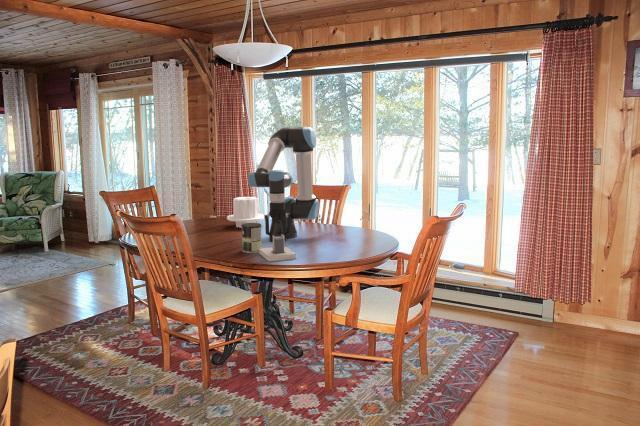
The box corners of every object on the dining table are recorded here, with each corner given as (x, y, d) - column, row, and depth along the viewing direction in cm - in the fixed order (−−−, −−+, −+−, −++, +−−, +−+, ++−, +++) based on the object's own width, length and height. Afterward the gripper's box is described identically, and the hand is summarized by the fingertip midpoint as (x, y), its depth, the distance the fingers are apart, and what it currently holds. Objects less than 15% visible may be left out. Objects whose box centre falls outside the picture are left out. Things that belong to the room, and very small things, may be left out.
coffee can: (241, 253, 269) (240, 226, 267) (242, 248, 279) (242, 222, 277) (261, 252, 270) (261, 226, 267) (262, 248, 280) (261, 222, 278)
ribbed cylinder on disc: (219, 228, 339) (218, 199, 336) (244, 222, 360) (243, 194, 357) (249, 231, 326) (248, 201, 323) (273, 225, 347) (272, 197, 344)
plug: (272, 252, 262) (272, 236, 260) (281, 251, 263) (281, 235, 262) (275, 254, 257) (274, 238, 256) (284, 253, 259) (283, 237, 258)
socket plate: (259, 253, 269) (259, 247, 268) (285, 250, 274) (285, 244, 273) (268, 261, 252) (268, 254, 251) (296, 258, 257) (295, 252, 256)
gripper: (261, 203, 250) (262, 251, 254) (296, 201, 256) (297, 248, 260) (257, 201, 257) (259, 248, 261) (291, 199, 263) (292, 245, 267)
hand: (278, 248), depth 260 cm, fingers closed on plug, 4 cm apart
